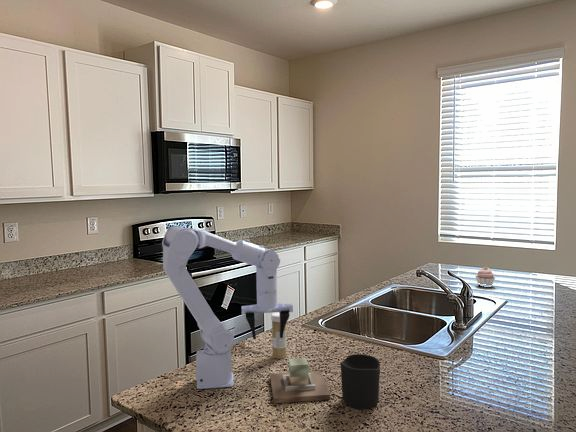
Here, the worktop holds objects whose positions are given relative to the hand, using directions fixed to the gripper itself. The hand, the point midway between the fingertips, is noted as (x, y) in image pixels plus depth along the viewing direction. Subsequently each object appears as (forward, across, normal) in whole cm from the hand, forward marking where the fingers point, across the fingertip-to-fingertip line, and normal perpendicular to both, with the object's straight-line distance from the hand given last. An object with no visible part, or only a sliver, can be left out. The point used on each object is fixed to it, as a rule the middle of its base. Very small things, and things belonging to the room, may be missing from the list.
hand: (267, 337), depth 128 cm
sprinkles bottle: (+10, +4, +9) cm, 14 cm away
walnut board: (+9, +7, -13) cm, 18 cm away
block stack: (+8, +7, -13) cm, 17 cm away
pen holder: (+10, +21, -22) cm, 32 cm away
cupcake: (+10, +113, +82) cm, 140 cm away
